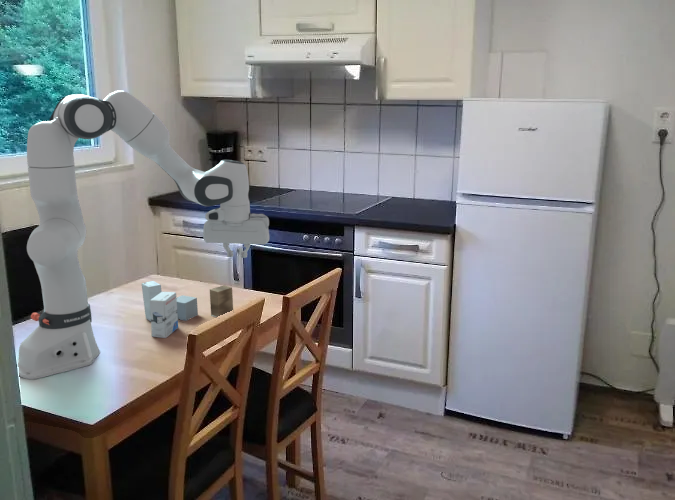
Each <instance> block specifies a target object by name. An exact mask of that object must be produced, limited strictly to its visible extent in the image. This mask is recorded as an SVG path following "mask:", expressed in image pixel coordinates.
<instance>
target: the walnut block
mask: <svg viewBox="0 0 675 500" xmlns="http://www.w3.org/2000/svg"><path fill="white" fill-rule="evenodd" d="M233 296H234V295H233V287H231V286H228V285H225V284H222V285H220V286H216V287H214V288H210V289H209V301H210V302H209V304H210V317H214V318H216V317H218V316H220V315H223V314H225V313H227V312H230V311H232V310H233V311H234V299H233Z"/></svg>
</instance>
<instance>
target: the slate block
mask: <svg viewBox="0 0 675 500" xmlns="http://www.w3.org/2000/svg"><path fill="white" fill-rule="evenodd" d="M176 298H177V315H178V320H179V319H180V321H184V322H187V321H189V320H191V319H193V318H195V317H196V316H198V315H199V312H198V311H199V310H198V309H199V308H198V298H197V297H194V296H189V295H184V294H183V295H180V296H178V297H177V296H176ZM190 318H191V319H190Z"/></svg>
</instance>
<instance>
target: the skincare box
mask: <svg viewBox="0 0 675 500" xmlns="http://www.w3.org/2000/svg"><path fill="white" fill-rule="evenodd" d="M141 291H142V299H143V307H144V314H145V315H144V316H145V319H146V320H148V321H149V322H151V313H150V300H151V299H152V298H154V297H155V296H157V295H158V294H160V293H161V292H163V290H162V285H161V284H160V283H158V282H156V281H155V280H151V281H145V282H142V283H141Z"/></svg>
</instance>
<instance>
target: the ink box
mask: <svg viewBox="0 0 675 500" xmlns="http://www.w3.org/2000/svg"><path fill="white" fill-rule="evenodd" d="M150 313H151V321H150V327H151V328H150V329H151V337H154V338H163V339H166V338H168V337H169V336H170V335H171V334H173V333H174V332H175V331H176V330H177V329H178V328H179V319H178V315H177V292H176V291H162V292H161V293H160V294H158V295H157V296H155V297H154V298H152V299H151V300H150Z"/></svg>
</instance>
